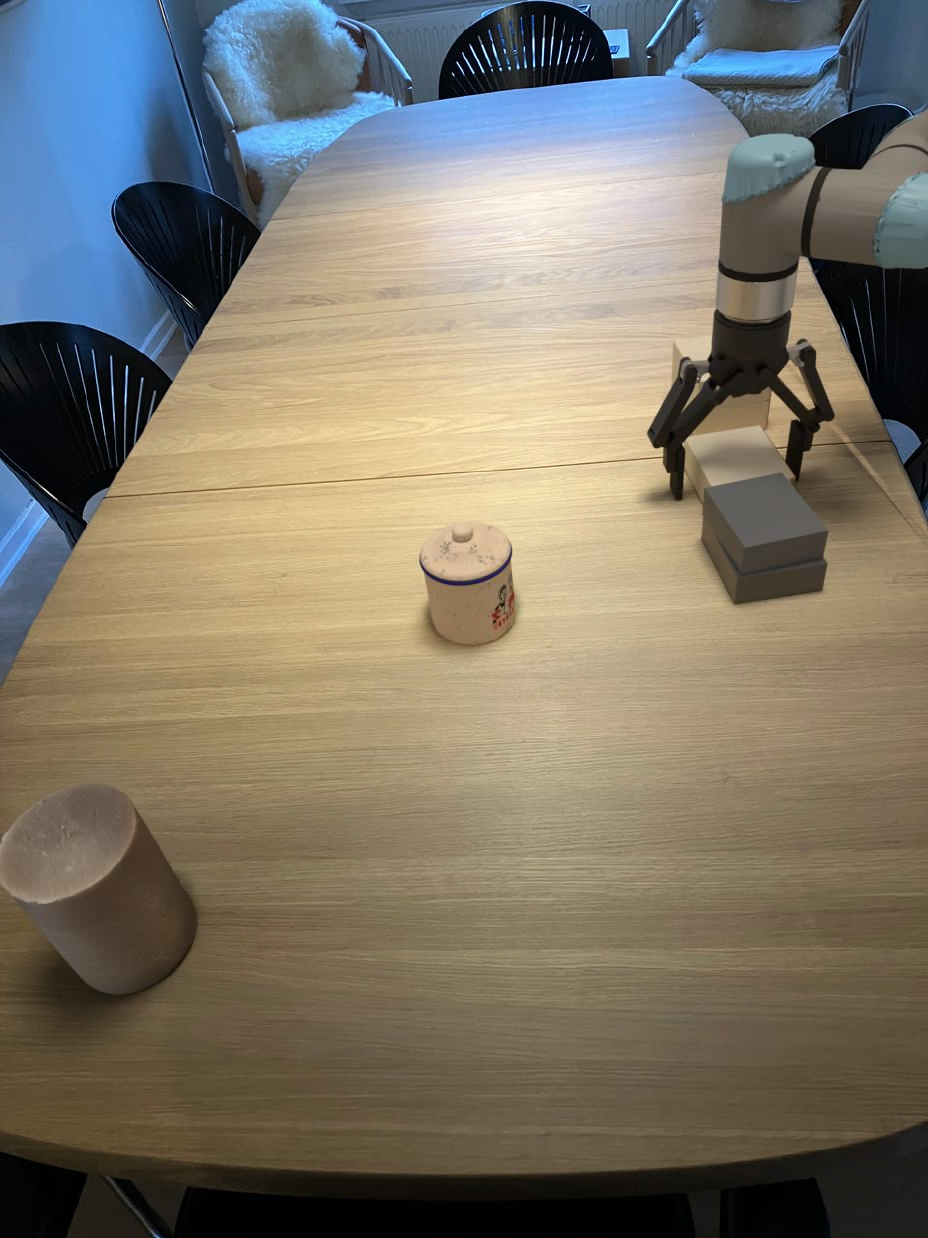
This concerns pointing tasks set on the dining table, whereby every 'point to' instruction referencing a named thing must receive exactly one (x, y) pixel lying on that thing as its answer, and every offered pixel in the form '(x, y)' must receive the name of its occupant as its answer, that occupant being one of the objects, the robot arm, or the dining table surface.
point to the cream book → (732, 458)
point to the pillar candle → (98, 887)
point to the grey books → (763, 538)
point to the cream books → (732, 410)
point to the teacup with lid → (469, 582)
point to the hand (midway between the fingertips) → (733, 483)
